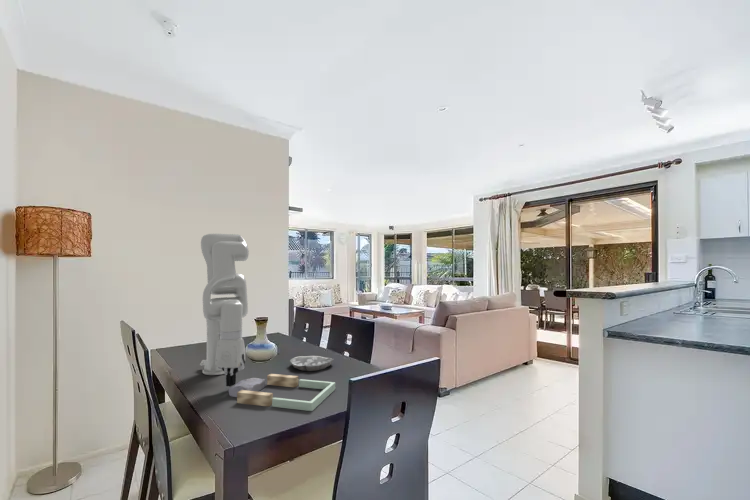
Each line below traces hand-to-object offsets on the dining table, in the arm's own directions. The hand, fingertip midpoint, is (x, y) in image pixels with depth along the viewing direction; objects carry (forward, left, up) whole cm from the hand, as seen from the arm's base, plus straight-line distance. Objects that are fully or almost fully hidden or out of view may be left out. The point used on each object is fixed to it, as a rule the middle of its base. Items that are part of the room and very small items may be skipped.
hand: (230, 385), depth 133 cm
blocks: (+16, 0, -2) cm, 16 cm away
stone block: (+6, 0, -2) cm, 7 cm away
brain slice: (+16, +34, -2) cm, 38 cm away
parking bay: (+30, 0, -2) cm, 30 cm away
